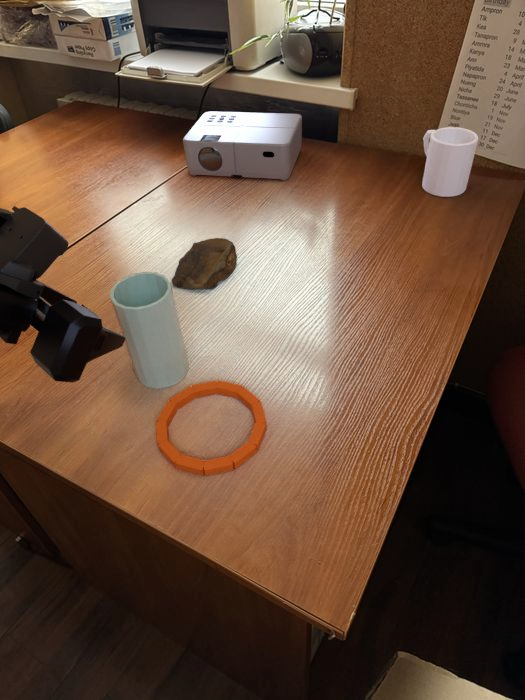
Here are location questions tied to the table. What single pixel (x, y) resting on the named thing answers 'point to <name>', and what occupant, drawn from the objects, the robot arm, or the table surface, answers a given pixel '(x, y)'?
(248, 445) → the ring
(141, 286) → the cup
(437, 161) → the mug
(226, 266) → the decorative stone
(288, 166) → the projector
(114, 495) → the table surface
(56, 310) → the robot arm
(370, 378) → the table surface
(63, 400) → the table surface
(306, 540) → the table surface
